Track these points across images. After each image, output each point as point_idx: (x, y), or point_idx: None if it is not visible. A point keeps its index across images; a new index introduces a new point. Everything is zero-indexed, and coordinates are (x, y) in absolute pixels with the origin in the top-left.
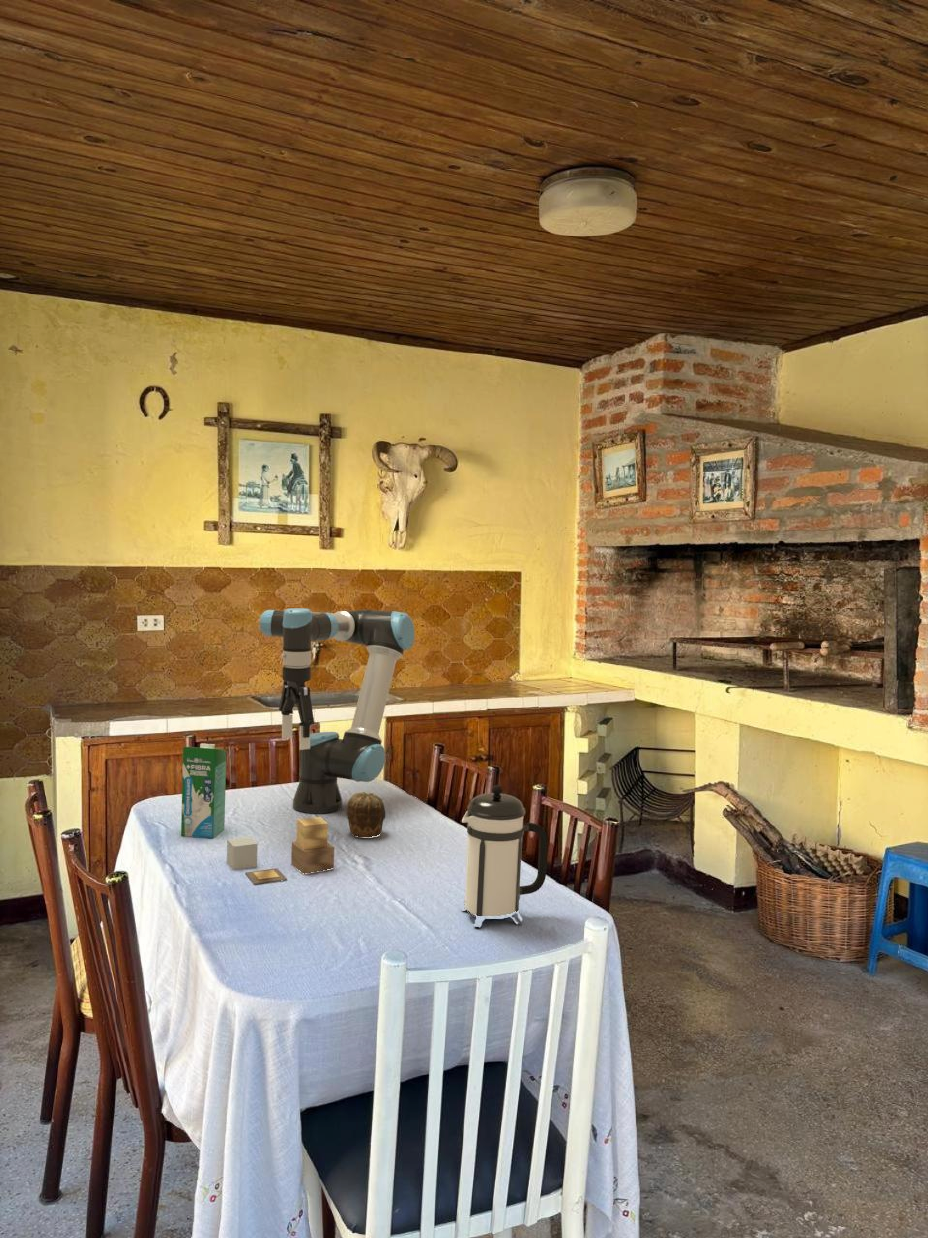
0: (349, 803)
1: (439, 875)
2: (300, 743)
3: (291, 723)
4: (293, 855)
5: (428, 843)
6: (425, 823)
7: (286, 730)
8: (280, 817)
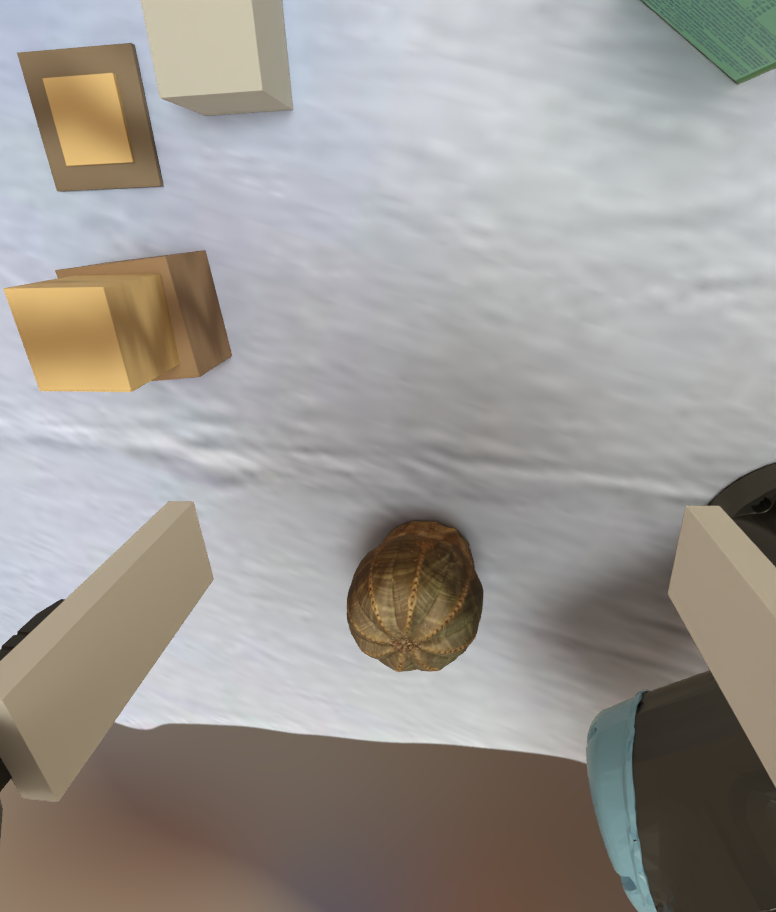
0: (411, 574)
1: (80, 574)
2: (134, 535)
3: (752, 729)
4: (169, 255)
5: (302, 646)
6: (457, 705)
7: (719, 602)
8: (751, 378)
